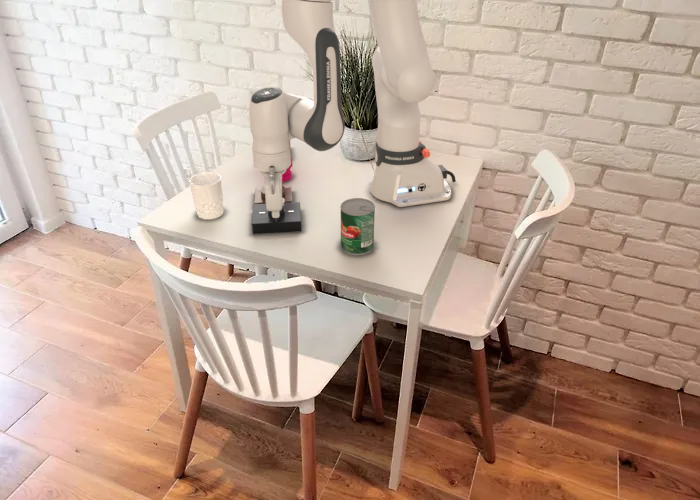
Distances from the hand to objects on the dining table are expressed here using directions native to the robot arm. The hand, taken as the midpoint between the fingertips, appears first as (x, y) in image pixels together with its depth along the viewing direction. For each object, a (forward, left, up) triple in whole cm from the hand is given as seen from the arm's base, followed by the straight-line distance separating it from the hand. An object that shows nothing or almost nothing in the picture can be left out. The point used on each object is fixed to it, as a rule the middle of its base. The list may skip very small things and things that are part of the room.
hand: (276, 209), depth 141 cm
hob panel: (0, 0, -4) cm, 4 cm away
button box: (+1, -12, -4) cm, 13 cm away
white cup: (+17, -6, -4) cm, 19 cm away
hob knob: (0, 0, -1) cm, 1 cm away
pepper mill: (-1, -26, -4) cm, 26 cm away
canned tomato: (-19, +13, -4) cm, 23 cm away
